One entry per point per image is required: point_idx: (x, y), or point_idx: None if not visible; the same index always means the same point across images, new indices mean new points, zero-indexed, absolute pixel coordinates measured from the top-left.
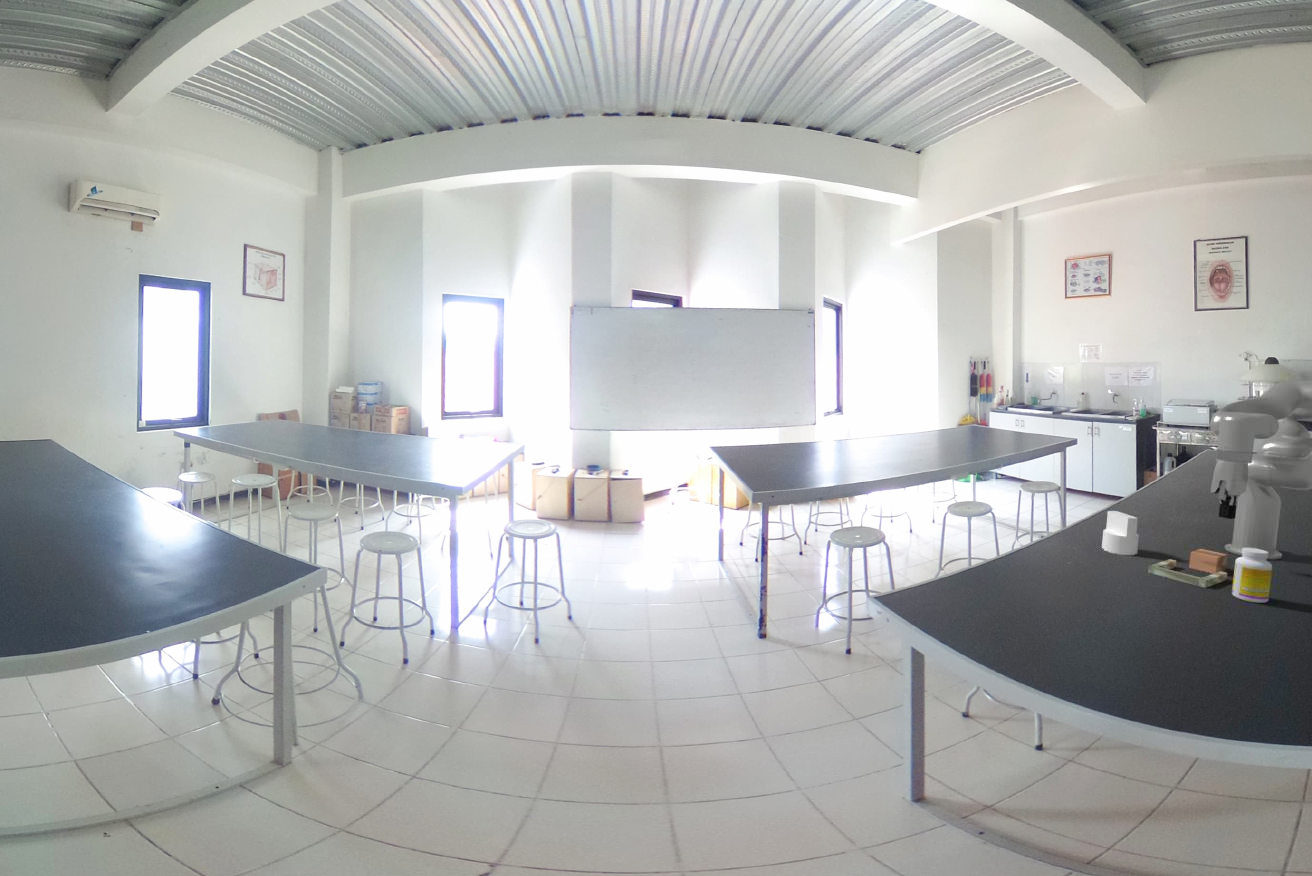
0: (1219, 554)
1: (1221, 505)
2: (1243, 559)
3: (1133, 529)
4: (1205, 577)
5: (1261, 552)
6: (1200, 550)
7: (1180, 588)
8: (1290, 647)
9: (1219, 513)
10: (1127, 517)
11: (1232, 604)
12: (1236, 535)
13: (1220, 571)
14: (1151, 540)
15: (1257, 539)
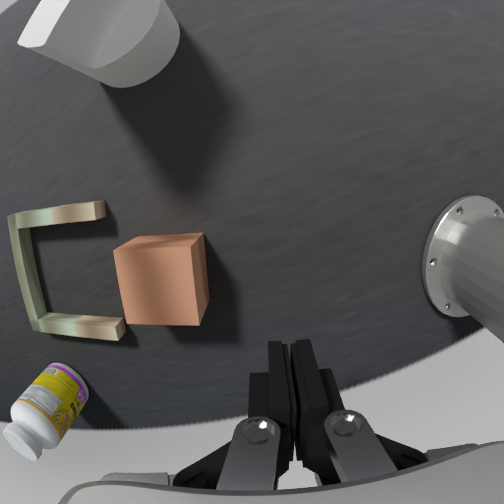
0: (173, 312)
1: (272, 408)
2: (12, 419)
3: (62, 61)
4: (46, 322)
5: (21, 452)
6: (163, 258)
7: (6, 297)
8: (2, 416)
9: (269, 356)
10: (25, 32)
11: (26, 369)
12: (479, 241)
13: (114, 327)
14: (365, 28)
15: (466, 301)
